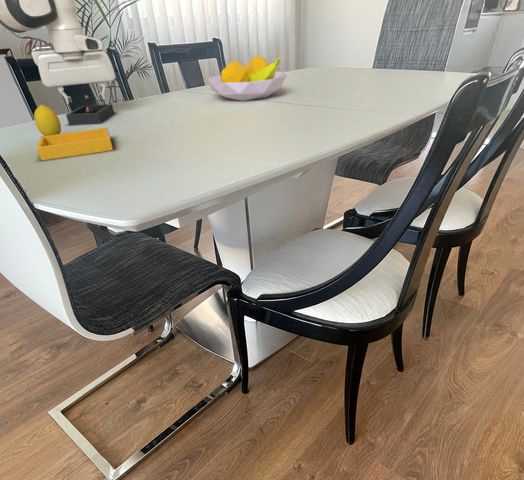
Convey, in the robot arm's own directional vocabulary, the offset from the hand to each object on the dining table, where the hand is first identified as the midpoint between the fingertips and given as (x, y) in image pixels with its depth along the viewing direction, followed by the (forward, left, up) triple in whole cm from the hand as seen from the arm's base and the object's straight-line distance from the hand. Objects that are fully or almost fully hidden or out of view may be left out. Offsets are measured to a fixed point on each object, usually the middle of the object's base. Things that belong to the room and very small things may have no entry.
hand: (86, 102), depth 115 cm
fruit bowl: (+52, +3, -5) cm, 53 cm away
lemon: (-10, -23, -5) cm, 25 cm away
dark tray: (0, 0, -4) cm, 4 cm away
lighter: (0, 0, -4) cm, 4 cm away
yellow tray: (-4, -36, -4) cm, 36 cm away
